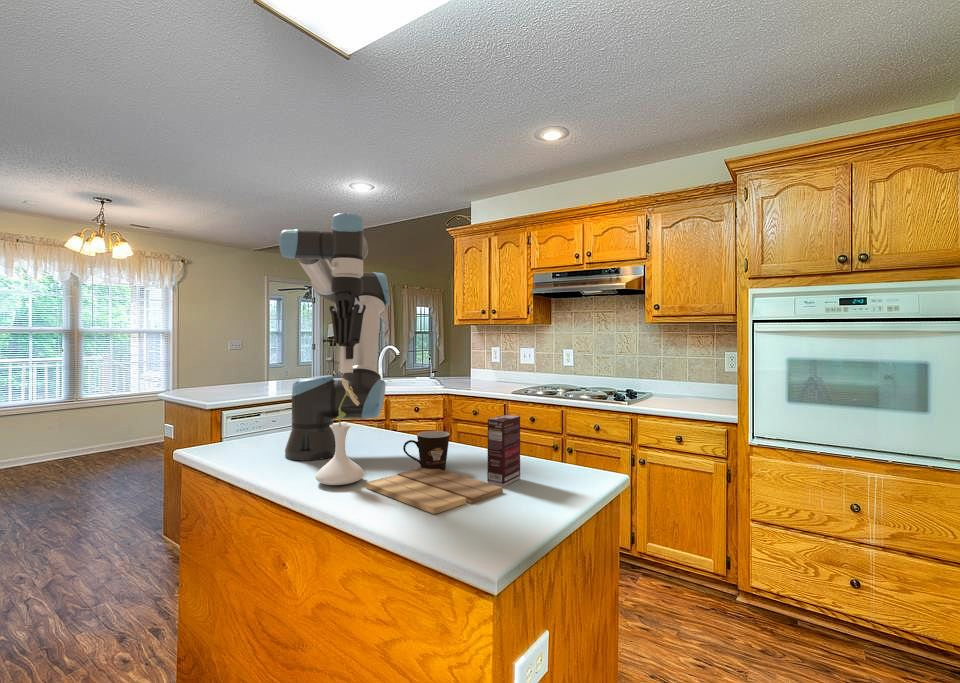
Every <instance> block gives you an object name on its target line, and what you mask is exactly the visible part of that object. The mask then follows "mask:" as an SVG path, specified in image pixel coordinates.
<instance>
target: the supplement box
mask: <svg viewBox="0 0 960 683" xmlns="http://www.w3.org/2000/svg"><path fill="white" fill-rule="evenodd" d="M486 477H487V482H486V483H489V484H493V485H496V486H500V487H503V488H505V487H506V486H508V485H510V484H512V483H514V482H516V481H518V480H520V479H521V416H520V415H515V414H513V415H512V414H503V415H499V416H495V417H491V418H487V476H486Z"/></svg>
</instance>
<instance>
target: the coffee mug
mask: <svg viewBox="0 0 960 683" xmlns="http://www.w3.org/2000/svg"><path fill="white" fill-rule="evenodd" d="M450 435H451V434H450V433H449V432H447V431H444V430H442V431H441V430H427V431H421V432H418V433H417V434H416V438H417V441H416V440H413V439H410V440H407V441H405V442H404V444H403V448H402V449H403V452H404V453H405V455H406V456H408V457H409V458H410V459H412V460H413V461H416V462H417V463H419V465H420V467H422V468H426V469H441V470H444V471H446V468H447V458H448V451H449V443H450V442H449V441H450ZM409 443H414V444H415V445H416V447H417V449H418V456H419V458H416V457H414V456H413V455H411V454H409V452H408V451H406V450H407V449H406V446H407V445H408V444H409ZM420 467H419V468H420Z"/></svg>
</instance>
